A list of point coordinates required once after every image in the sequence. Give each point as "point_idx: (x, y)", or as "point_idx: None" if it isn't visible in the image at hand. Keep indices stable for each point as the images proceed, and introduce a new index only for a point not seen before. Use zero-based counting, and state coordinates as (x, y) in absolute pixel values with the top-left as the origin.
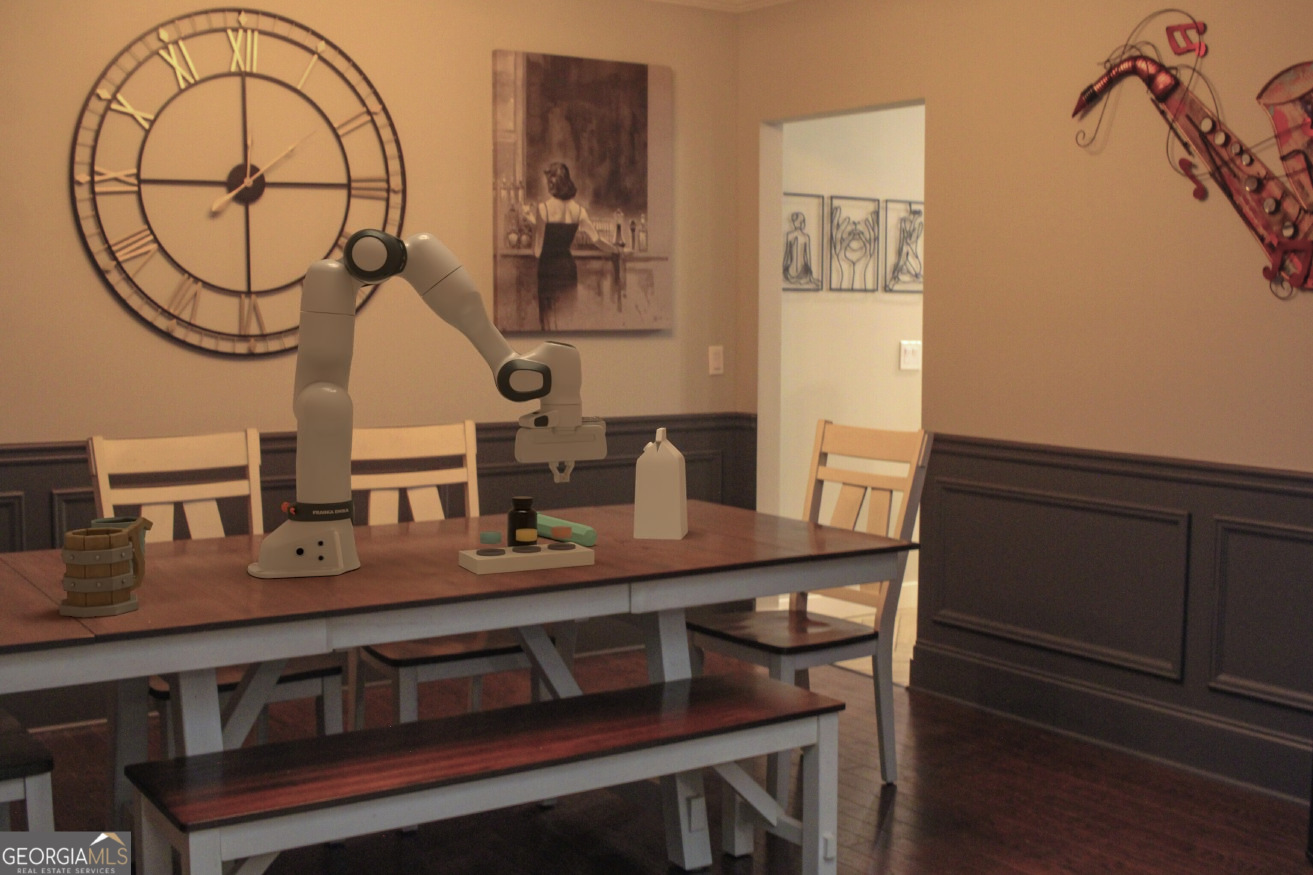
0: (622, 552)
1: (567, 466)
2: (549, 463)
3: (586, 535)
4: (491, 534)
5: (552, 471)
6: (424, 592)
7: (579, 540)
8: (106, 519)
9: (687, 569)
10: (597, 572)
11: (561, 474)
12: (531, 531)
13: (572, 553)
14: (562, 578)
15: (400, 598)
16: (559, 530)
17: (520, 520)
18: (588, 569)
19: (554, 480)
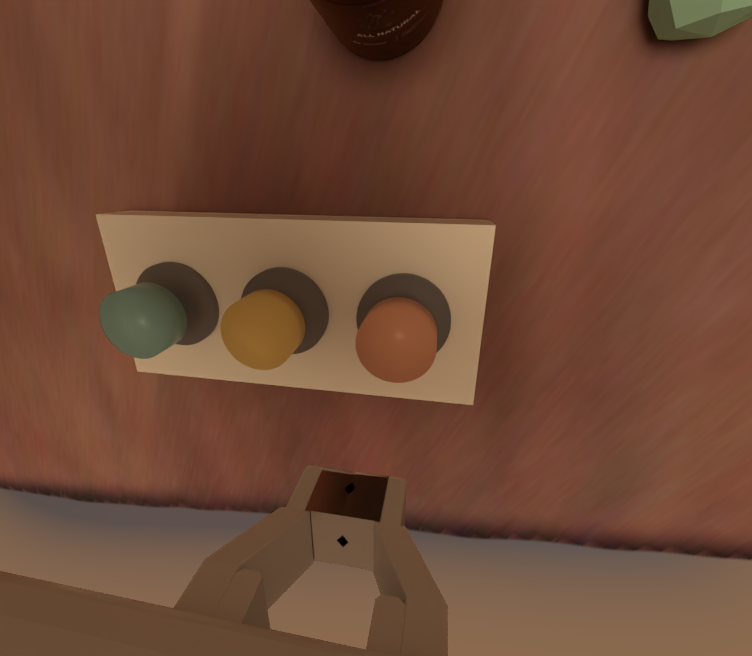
0: (691, 243)
1: (399, 597)
2: (190, 600)
3: (691, 28)
4: (132, 356)
5: (261, 528)
6: (61, 447)
7: (652, 13)
8: None
9: (637, 540)
10: (423, 463)
11: (327, 561)
12: (265, 368)
13: (400, 395)
14: None
15: (28, 465)
16: (373, 372)
17: (318, 3)
18: (422, 426)
19: (306, 473)
